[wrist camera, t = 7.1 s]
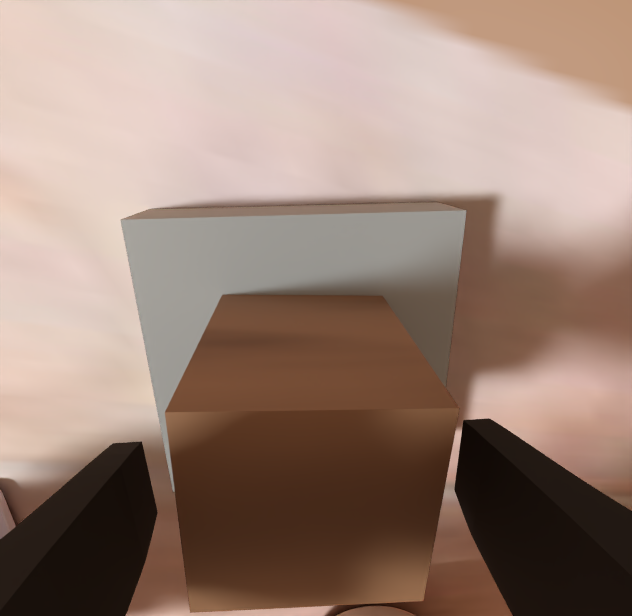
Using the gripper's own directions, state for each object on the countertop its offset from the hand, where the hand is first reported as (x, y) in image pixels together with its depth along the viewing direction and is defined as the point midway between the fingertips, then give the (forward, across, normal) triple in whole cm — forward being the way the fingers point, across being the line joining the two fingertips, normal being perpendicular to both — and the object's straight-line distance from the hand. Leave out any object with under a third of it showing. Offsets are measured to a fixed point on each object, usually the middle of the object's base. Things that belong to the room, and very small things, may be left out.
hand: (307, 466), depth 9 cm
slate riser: (+8, 0, 0) cm, 8 cm away
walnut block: (+4, 0, 0) cm, 5 cm away
